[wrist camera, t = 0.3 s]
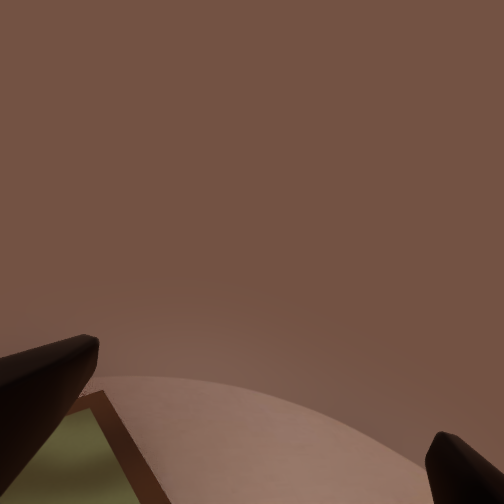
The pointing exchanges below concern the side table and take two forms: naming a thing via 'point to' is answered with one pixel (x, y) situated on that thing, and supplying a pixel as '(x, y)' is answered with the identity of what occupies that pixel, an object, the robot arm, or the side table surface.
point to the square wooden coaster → (87, 462)
